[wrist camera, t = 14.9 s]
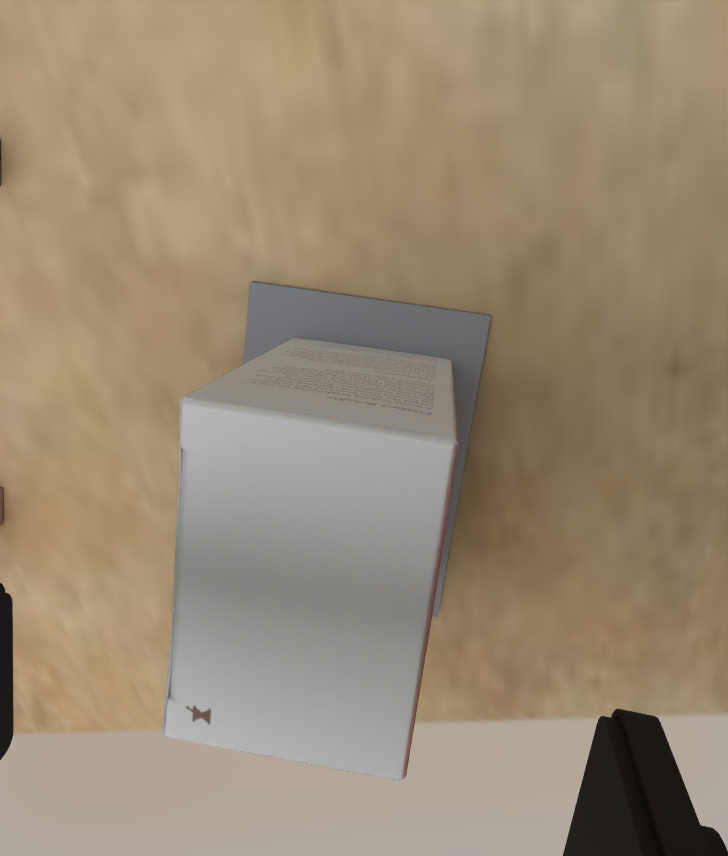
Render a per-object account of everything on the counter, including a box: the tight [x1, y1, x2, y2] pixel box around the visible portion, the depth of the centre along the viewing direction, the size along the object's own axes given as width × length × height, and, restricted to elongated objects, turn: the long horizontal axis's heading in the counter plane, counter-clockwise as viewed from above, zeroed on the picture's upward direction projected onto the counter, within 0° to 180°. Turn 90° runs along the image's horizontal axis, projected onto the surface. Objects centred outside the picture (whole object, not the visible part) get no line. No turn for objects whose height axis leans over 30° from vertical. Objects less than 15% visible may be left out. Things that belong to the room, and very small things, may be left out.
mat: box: [243, 281, 491, 617], centre depth 24 cm, size 8×11×1 cm
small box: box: [162, 338, 458, 780], centre depth 19 cm, size 8×6×10 cm
